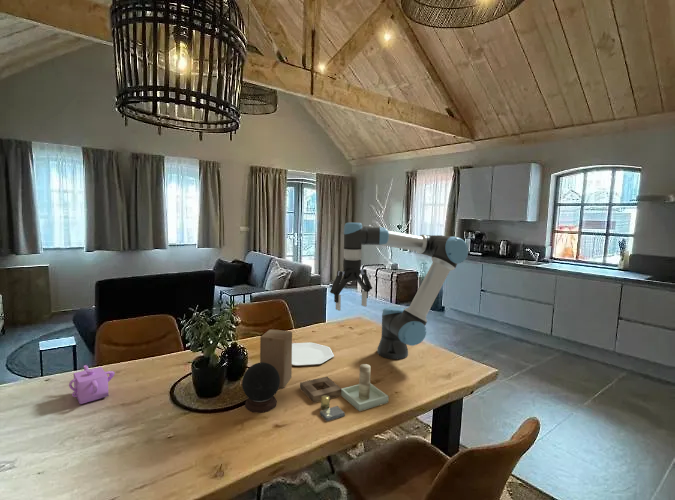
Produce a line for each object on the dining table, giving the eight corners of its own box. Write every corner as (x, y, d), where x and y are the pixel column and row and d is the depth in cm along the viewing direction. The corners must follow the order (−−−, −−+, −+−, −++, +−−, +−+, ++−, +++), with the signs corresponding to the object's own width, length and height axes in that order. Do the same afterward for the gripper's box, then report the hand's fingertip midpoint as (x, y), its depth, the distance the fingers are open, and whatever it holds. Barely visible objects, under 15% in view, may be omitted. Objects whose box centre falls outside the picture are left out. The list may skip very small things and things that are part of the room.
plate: (343, 353, 179) (343, 350, 179) (309, 373, 156) (309, 369, 156) (299, 341, 193) (299, 339, 193) (263, 358, 170) (263, 355, 170)
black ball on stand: (239, 398, 132) (239, 359, 131) (274, 392, 137) (275, 354, 136) (245, 417, 120) (245, 374, 119) (283, 410, 125) (284, 368, 124)
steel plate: (337, 409, 127) (337, 405, 127) (344, 416, 123) (344, 412, 122) (319, 414, 123) (319, 410, 123) (326, 421, 119) (326, 418, 119)
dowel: (365, 393, 137) (366, 363, 136) (371, 398, 134) (372, 367, 132) (356, 396, 135) (357, 365, 134) (362, 400, 132) (363, 369, 130)
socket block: (326, 382, 147) (326, 376, 147) (342, 395, 137) (342, 389, 136) (299, 388, 141) (300, 382, 140) (313, 403, 130) (313, 396, 130)
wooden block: (283, 388, 140) (284, 339, 138) (259, 385, 142) (259, 336, 140) (291, 377, 150) (292, 331, 148) (269, 374, 152) (269, 328, 150)
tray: (368, 387, 143) (368, 381, 143) (388, 402, 132) (388, 396, 132) (340, 395, 137) (340, 388, 136) (359, 411, 126) (359, 404, 125)
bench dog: (326, 405, 129) (327, 394, 129) (330, 409, 127) (331, 398, 126) (319, 407, 128) (319, 396, 127) (323, 411, 125) (323, 400, 125)
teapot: (65, 392, 133) (63, 366, 132) (108, 381, 143) (107, 356, 142) (74, 412, 120) (72, 383, 119) (121, 398, 130) (120, 371, 129)
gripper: (370, 256, 163) (369, 302, 165) (322, 259, 149) (321, 309, 152) (380, 258, 156) (379, 306, 159) (331, 261, 143) (331, 313, 145)
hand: (351, 307), depth 155 cm, fingers open, 13 cm apart
